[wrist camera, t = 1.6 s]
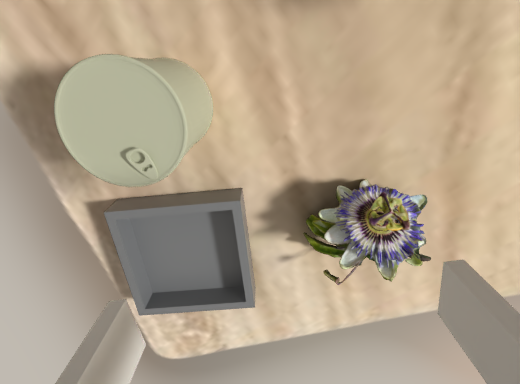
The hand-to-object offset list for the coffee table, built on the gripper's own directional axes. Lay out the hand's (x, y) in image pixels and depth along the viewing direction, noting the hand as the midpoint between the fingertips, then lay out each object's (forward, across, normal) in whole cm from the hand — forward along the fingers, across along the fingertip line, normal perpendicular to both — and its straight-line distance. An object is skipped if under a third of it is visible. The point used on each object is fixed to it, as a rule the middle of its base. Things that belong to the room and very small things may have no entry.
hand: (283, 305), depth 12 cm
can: (+22, -10, +7) cm, 25 cm away
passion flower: (+23, +9, -9) cm, 26 cm away
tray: (+22, -12, -10) cm, 27 cm away
